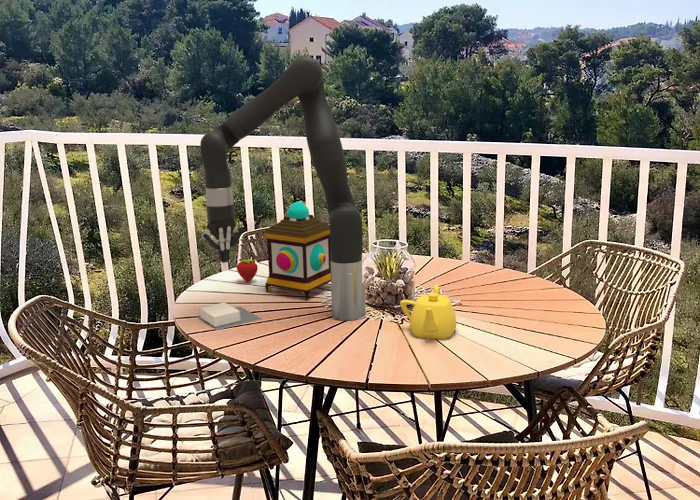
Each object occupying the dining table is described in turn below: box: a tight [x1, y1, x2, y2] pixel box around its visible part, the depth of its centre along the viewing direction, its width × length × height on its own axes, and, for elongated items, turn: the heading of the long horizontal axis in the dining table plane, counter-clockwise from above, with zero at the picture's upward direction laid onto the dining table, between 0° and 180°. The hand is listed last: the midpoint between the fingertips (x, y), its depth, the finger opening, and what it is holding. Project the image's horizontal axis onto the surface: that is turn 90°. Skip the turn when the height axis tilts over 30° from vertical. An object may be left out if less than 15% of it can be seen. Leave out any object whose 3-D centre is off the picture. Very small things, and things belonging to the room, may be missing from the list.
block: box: [199, 302, 240, 327], centre depth 193 cm, size 3×10×8 cm
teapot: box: [399, 284, 457, 340], centre depth 182 cm, size 22×16×11 cm
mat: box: [196, 306, 263, 331], centre depth 195 cm, size 14×14×1 cm
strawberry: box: [236, 258, 259, 284], centre depth 229 cm, size 6×8×10 cm
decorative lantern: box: [263, 201, 331, 301], centre depth 218 cm, size 20×20×30 cm
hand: (224, 261), depth 191 cm, fingers closed
